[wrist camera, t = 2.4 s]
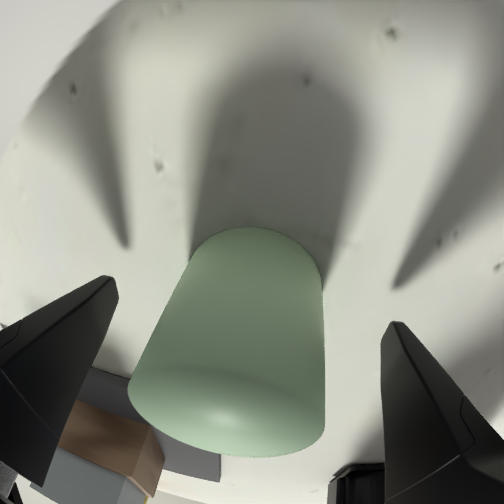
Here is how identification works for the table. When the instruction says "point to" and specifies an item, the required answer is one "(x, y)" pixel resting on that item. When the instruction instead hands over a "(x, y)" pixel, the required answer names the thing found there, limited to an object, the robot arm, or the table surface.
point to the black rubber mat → (117, 402)
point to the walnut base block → (114, 444)
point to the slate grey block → (86, 483)
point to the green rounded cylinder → (239, 349)
